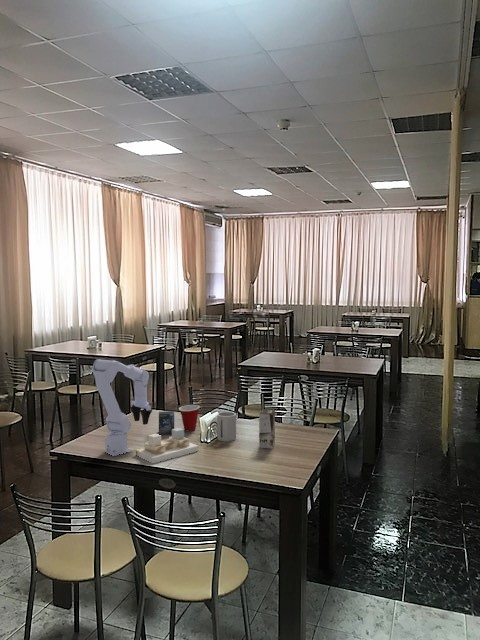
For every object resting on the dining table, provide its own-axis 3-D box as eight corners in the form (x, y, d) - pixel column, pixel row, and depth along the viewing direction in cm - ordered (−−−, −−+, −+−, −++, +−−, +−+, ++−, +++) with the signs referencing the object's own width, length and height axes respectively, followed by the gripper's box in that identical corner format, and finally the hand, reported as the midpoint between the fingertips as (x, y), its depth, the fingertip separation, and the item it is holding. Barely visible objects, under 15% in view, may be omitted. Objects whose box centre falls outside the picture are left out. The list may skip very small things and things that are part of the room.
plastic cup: (177, 427, 274) (176, 405, 273) (197, 425, 278) (197, 403, 277) (181, 433, 264) (180, 410, 263) (202, 431, 267) (201, 408, 266)
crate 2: (177, 439, 236) (176, 431, 235) (171, 437, 239) (171, 429, 238) (184, 438, 239) (184, 429, 238) (179, 436, 241) (178, 427, 241)
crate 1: (153, 446, 227) (153, 437, 227) (148, 444, 230) (148, 435, 230) (161, 444, 230) (161, 435, 229) (156, 442, 233) (156, 433, 232)
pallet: (155, 454, 225) (155, 448, 225) (144, 449, 232) (144, 443, 231) (189, 445, 237) (189, 439, 237) (177, 441, 244) (177, 434, 243)
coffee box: (272, 448, 240) (272, 414, 239) (258, 448, 241) (258, 413, 240) (275, 442, 249) (275, 409, 248) (261, 441, 250) (261, 408, 249)
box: (158, 435, 262) (158, 414, 261) (159, 431, 267) (158, 411, 266) (174, 434, 263) (174, 413, 262) (174, 431, 268) (174, 410, 268)
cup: (237, 435, 260) (236, 411, 259) (235, 441, 251) (234, 416, 250) (218, 435, 261) (218, 411, 260) (216, 440, 252) (216, 416, 251)
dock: (152, 463, 221) (152, 457, 221) (135, 455, 232) (135, 449, 231) (198, 451, 237) (198, 445, 237) (180, 443, 248) (180, 438, 247)
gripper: (156, 395, 246) (156, 424, 247) (140, 390, 257) (140, 418, 258) (143, 398, 242) (143, 426, 243) (127, 392, 252) (127, 420, 253)
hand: (141, 422), depth 250 cm, fingers open, 7 cm apart
